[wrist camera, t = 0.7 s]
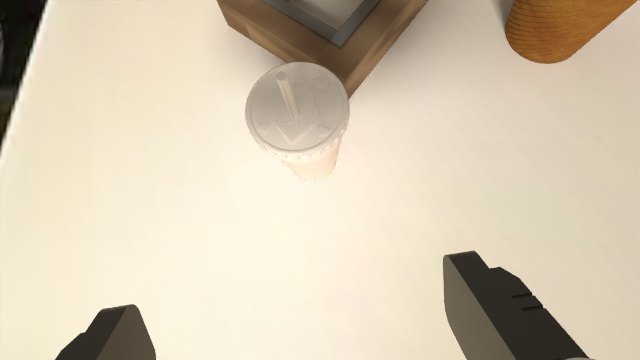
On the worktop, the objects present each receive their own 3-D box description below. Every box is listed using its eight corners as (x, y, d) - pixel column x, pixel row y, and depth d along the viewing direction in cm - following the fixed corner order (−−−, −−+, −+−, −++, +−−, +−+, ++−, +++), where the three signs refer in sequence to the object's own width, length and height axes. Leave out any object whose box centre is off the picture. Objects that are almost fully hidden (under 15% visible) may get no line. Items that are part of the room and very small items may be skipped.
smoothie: (270, 194, 33) (209, 120, 19) (281, 123, 34) (231, 10, 21) (348, 201, 32) (341, 128, 19) (355, 127, 34) (352, 13, 20)
